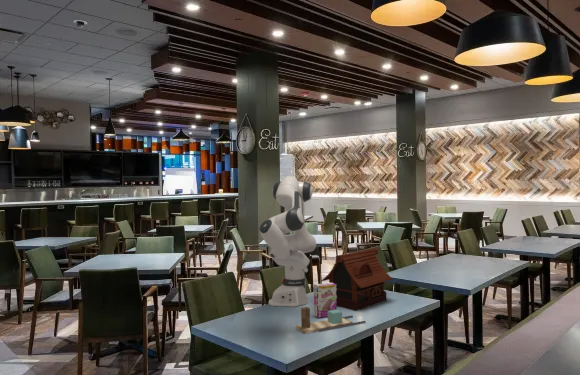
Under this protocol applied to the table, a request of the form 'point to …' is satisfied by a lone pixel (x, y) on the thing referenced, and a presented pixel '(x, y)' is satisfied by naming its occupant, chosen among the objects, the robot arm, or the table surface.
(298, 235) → the robot arm
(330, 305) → the candy bar box
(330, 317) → the cube
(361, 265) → the house
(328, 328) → the track
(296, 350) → the table surface
